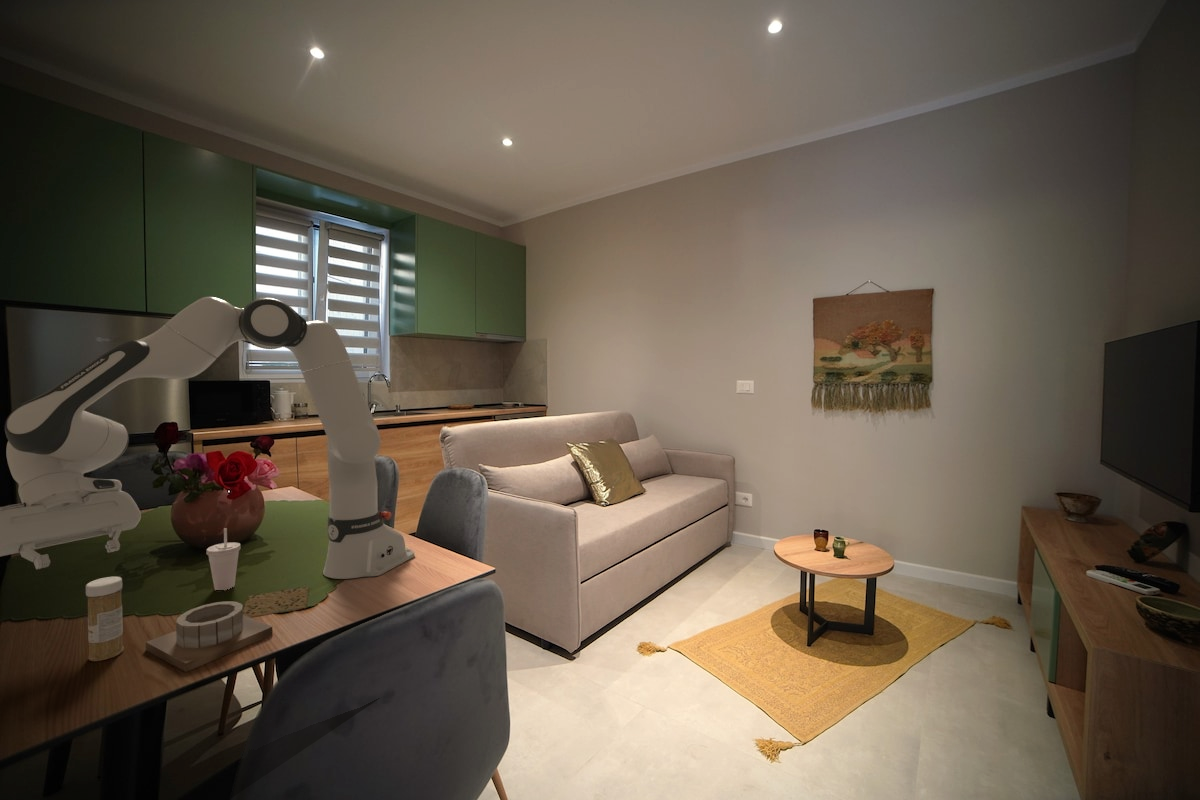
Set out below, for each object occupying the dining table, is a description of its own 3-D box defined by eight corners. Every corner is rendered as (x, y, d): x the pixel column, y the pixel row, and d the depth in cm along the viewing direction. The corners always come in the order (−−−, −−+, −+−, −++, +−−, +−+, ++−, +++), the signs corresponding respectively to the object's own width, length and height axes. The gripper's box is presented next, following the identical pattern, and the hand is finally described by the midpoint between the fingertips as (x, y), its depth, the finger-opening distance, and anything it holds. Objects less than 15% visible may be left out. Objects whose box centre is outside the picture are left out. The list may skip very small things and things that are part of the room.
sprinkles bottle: (87, 655, 88) (84, 581, 88) (122, 645, 92) (120, 573, 91) (89, 665, 86) (86, 588, 85) (126, 654, 89) (123, 580, 88)
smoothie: (223, 594, 113) (221, 533, 112) (199, 591, 114) (198, 531, 114) (248, 583, 119) (247, 525, 119) (226, 580, 121) (224, 523, 120)
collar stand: (232, 617, 103) (231, 591, 103) (272, 634, 97) (272, 606, 96) (146, 650, 90) (145, 620, 90) (186, 672, 84) (185, 640, 84)
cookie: (238, 622, 102) (238, 617, 102) (247, 598, 112) (247, 594, 112) (307, 610, 107) (307, 605, 107) (309, 588, 118) (309, 584, 118)
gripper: (-24, 500, 86) (-2, 567, 82) (130, 478, 104) (154, 532, 100) (-31, 522, 88) (-10, 588, 84) (121, 497, 106) (144, 550, 102)
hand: (80, 557), depth 92 cm, fingers open, 8 cm apart
